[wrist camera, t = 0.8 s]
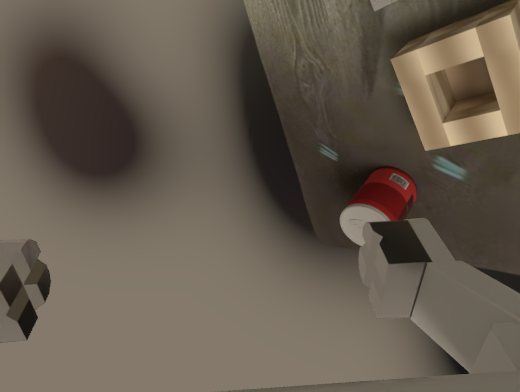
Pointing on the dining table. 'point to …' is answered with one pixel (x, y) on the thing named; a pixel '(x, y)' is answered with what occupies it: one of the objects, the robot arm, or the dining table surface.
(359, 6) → the dining table surface
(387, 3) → the grey square peg
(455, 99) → the frame
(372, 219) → the canned food
